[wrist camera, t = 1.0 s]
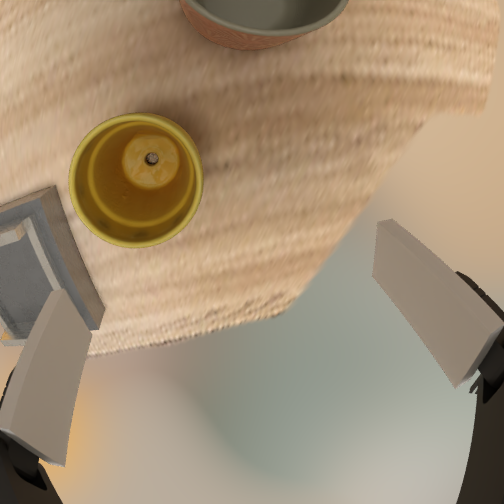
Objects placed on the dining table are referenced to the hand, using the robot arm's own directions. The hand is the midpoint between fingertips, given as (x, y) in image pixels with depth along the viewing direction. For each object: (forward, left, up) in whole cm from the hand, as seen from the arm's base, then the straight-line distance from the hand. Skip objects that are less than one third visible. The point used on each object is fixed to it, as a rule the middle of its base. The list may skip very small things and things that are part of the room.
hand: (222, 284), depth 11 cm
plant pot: (-2, -5, -21) cm, 21 cm away
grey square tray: (+7, -26, -20) cm, 34 cm away
